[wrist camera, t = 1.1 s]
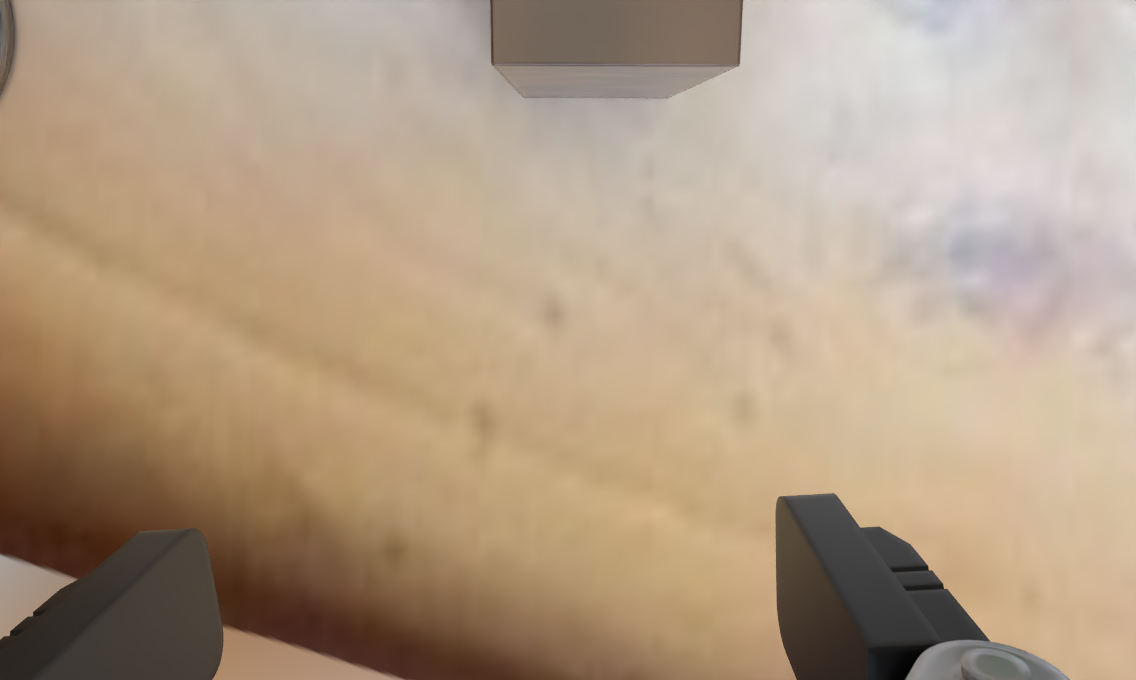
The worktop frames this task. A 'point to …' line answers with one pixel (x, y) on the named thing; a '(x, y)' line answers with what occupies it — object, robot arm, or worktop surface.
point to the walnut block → (613, 45)
